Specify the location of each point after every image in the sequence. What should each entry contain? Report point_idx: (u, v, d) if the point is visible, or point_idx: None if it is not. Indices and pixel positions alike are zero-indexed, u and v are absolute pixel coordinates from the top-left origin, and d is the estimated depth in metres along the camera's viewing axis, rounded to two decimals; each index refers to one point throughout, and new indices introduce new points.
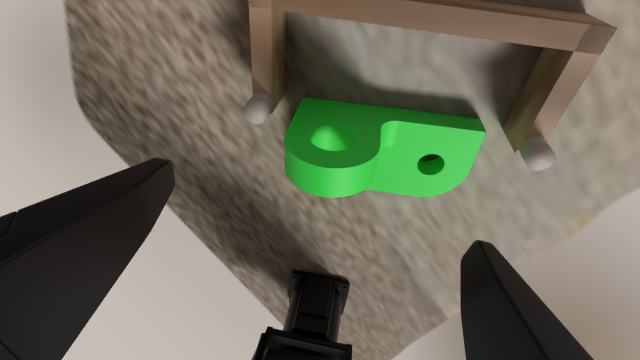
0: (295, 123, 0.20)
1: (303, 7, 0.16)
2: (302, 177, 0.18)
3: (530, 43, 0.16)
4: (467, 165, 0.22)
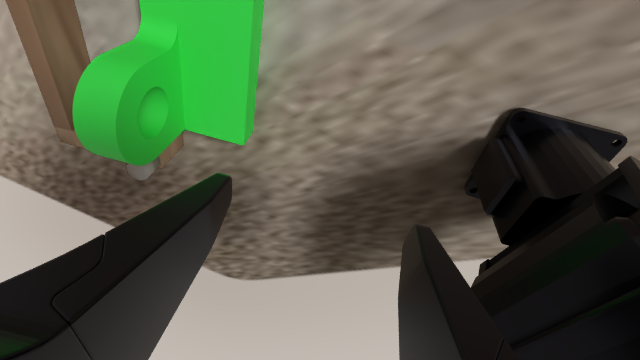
0: None
1: (59, 107, 0.20)
2: (108, 154, 0.16)
3: None
4: None
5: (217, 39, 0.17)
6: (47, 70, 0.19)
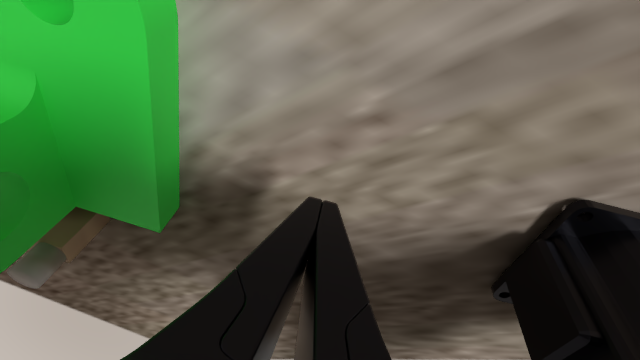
0: None
1: None
2: None
3: None
4: None
5: (100, 100, 0.11)
6: None
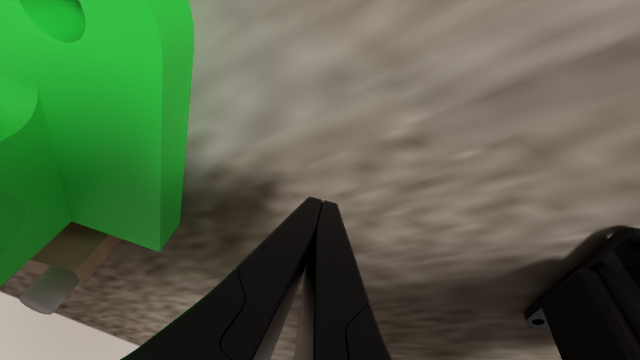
0: None
1: None
2: None
3: None
4: None
5: (106, 120, 0.10)
6: None
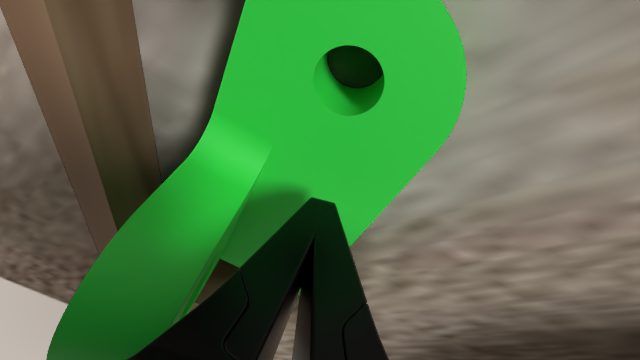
0: None
1: None
2: None
3: None
4: None
5: (333, 184, 0.10)
6: (110, 224, 0.12)
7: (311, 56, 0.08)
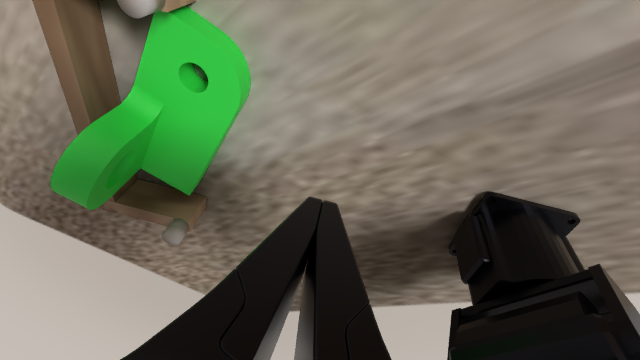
0: None
1: None
2: (73, 200, 0.19)
3: (60, 27, 0.17)
4: (201, 40, 0.17)
5: (194, 125, 0.21)
6: None
7: (176, 64, 0.19)
